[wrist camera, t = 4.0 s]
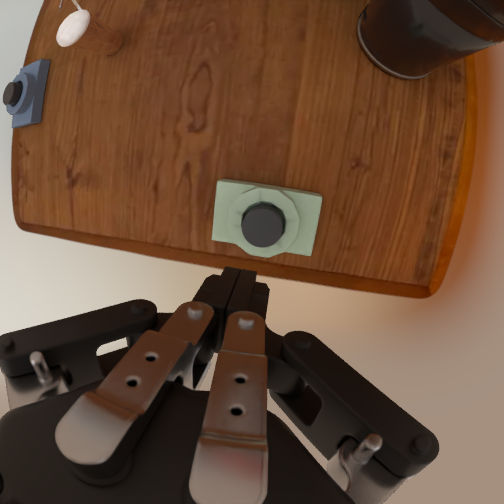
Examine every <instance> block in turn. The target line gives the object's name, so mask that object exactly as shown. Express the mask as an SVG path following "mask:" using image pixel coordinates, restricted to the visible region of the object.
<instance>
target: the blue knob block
mask: <svg viewBox="0 0 504 504" xmlns="http://www.w3.org/2000/svg"><path fill="white" fill-rule="evenodd" d="M49 65H50V60H45V59H40V60H37V61H35V62H33V63H31V64H29V65H27V66H26V67H24V68H22V69H21V70H20V74H19V75H17V76H16V77H15V79H14V80H13V82H19V83H22V84H23V91H22V95H21V98H20V100H19V102H18V103H17V104H16V105H6V107H7V112H8V113H9V114H11V115H13V119H12V128H20V127H24V126H28V125H32V124H36V123H40V122H41V115H42V106H43V99H44V92H45V86H46V80H47V75H48V70H49Z"/></svg>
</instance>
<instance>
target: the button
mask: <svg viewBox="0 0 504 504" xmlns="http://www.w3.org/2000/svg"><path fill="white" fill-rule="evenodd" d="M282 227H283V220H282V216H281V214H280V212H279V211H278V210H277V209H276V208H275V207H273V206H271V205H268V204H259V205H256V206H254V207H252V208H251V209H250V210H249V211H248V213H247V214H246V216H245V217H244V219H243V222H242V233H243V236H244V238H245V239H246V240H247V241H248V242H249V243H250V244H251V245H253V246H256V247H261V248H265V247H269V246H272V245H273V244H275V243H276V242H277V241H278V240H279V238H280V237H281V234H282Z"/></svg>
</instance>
